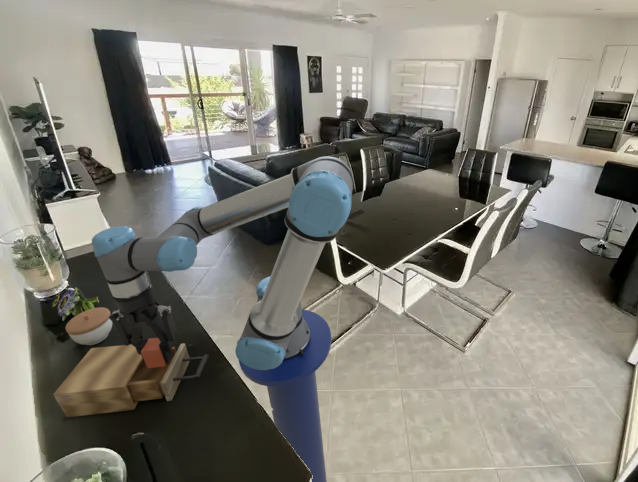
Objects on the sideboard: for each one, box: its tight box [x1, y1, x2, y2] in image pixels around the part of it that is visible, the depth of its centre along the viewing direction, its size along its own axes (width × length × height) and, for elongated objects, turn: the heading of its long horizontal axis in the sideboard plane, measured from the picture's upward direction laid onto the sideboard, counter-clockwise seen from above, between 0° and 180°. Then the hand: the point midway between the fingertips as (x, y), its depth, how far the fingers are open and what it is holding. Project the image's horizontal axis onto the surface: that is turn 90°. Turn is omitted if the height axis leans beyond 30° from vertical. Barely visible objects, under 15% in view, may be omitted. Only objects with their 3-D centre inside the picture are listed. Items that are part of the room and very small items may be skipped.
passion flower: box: [51, 287, 100, 322], centre depth 112 cm, size 11×11×12 cm
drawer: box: [127, 342, 210, 402], centre depth 87 cm, size 21×12×7 cm, turn 97°
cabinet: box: [52, 344, 143, 418], centre depth 85 cm, size 16×14×9 cm
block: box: [141, 337, 166, 368], centre depth 84 cm, size 4×4×6 cm
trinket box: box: [65, 306, 113, 346], centre depth 101 cm, size 11×11×9 cm
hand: (159, 359), depth 85 cm, fingers closed on block, 4 cm apart
